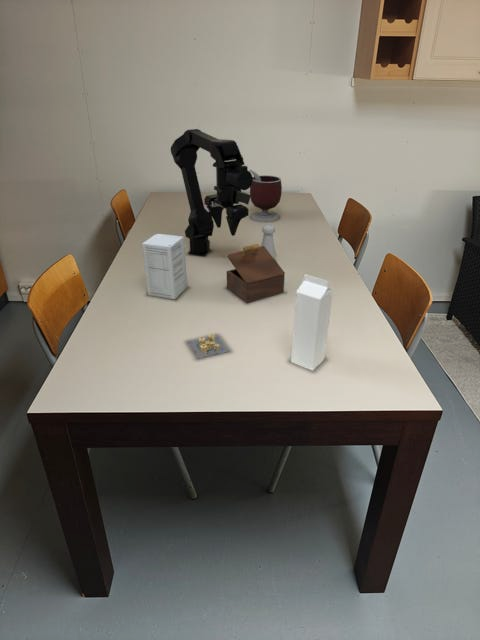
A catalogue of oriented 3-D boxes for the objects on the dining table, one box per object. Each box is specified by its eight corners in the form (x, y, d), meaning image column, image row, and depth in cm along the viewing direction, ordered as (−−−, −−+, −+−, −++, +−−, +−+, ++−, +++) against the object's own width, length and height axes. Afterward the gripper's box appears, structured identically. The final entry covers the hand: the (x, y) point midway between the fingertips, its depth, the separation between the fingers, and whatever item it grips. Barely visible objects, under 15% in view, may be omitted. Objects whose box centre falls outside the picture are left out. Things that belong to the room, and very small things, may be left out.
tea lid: (226, 256, 138) (229, 245, 135) (263, 247, 145) (266, 237, 142) (246, 284, 133) (250, 274, 129) (284, 274, 139) (288, 264, 136)
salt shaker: (274, 265, 160) (276, 229, 154) (258, 263, 161) (259, 228, 155) (276, 258, 165) (278, 223, 159) (260, 257, 166) (261, 222, 160)
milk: (303, 351, 114) (310, 269, 103) (324, 359, 111) (335, 276, 100) (290, 362, 110) (297, 278, 99) (312, 371, 107) (322, 285, 96)
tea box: (226, 288, 144) (226, 270, 141) (262, 279, 150) (262, 262, 147) (246, 303, 135) (246, 285, 132) (283, 292, 142) (284, 274, 139)
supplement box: (188, 287, 144) (185, 236, 136) (175, 300, 137) (171, 247, 128) (161, 282, 147) (156, 232, 139) (146, 295, 139) (141, 242, 131)
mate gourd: (285, 216, 209) (288, 170, 199) (270, 224, 199) (272, 177, 189) (256, 210, 216) (257, 166, 206) (240, 217, 206) (241, 172, 196)
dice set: (201, 354, 112) (201, 348, 111) (195, 344, 116) (194, 337, 115) (221, 350, 114) (221, 343, 113) (213, 340, 118) (213, 333, 117)
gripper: (263, 186, 141) (262, 235, 148) (232, 174, 154) (232, 219, 162) (232, 191, 135) (232, 241, 143) (202, 178, 149) (204, 225, 157)
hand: (225, 231), depth 151 cm, fingers open, 9 cm apart
